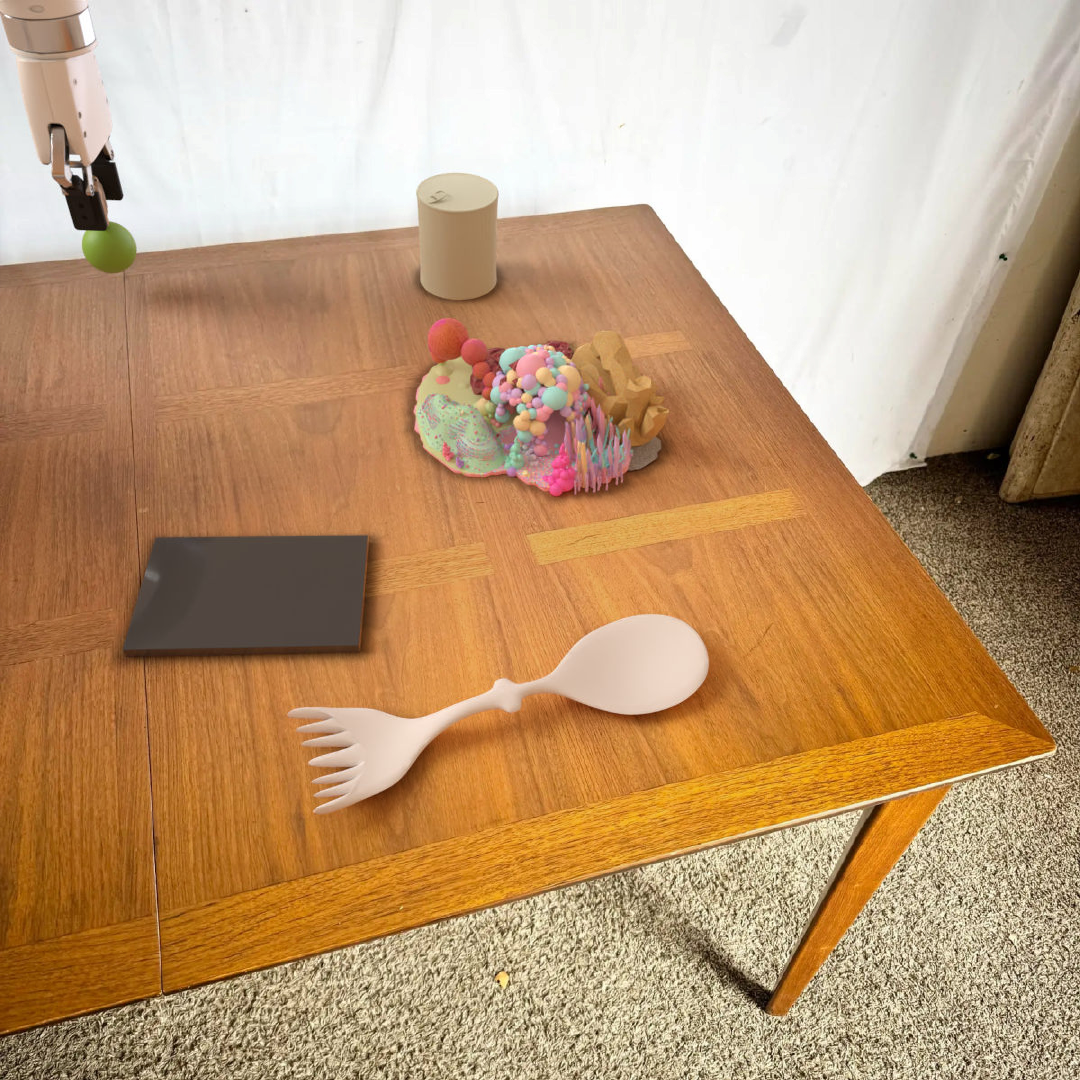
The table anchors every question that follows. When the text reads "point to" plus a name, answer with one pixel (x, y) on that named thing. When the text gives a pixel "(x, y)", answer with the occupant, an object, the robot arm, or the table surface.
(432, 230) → the can
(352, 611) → the slate board
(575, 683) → the spoon
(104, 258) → the apple with worm toy
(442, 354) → the candy landscape model
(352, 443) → the table surface
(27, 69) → the robot arm
